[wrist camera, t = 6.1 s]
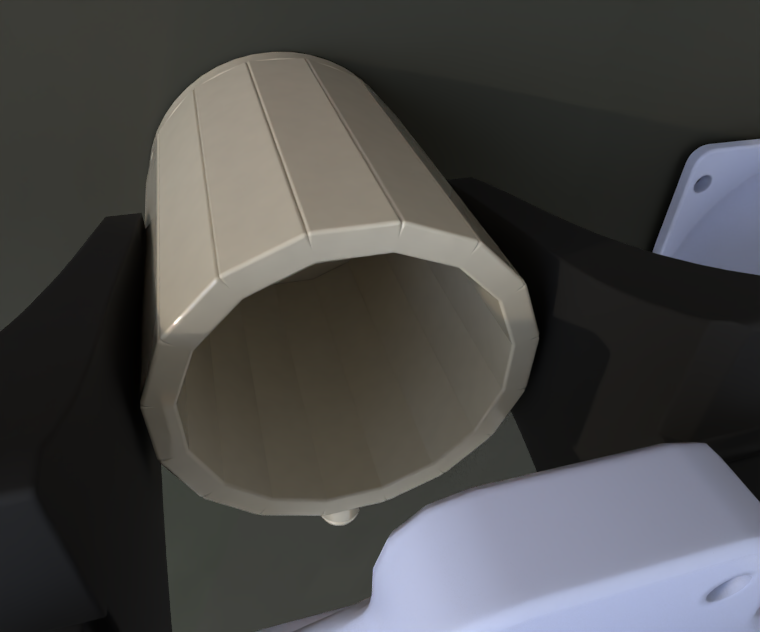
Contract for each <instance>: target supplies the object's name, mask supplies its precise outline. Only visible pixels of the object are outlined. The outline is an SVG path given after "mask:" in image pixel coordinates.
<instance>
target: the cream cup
mask: <svg viewBox="0 0 760 632" xmlns="http://www.w3.org/2000/svg"><path fill="white" fill-rule="evenodd" d="M538 342H539V330H538V326H537V322H536V318H535V314H534V310H533V306H532V303H531V299H530V295H529V291H528V287H527V284H526V283H525V282H524V279H523V278H522V277H521V275H520V274H519V273H518V272H517V270H516V269H515V268H514V266H513V265H512V264H511V263H510V261H509V260H508V259H507V257H506V256H505V255H504V254H503V252H502V251H501V250H500V248H499V247H498V246H497V245H496V243H495V242H494V241H493V239H492V238H491V237H490V236H489V234H488V233H487V232H486V230H485V229H484V228H483V227H482V225H481V224H480V223H479V221H478V220H477V219H476V218H475V216H474V215H473V214H472V212H471V211H470V210H469V209H468V207H467V206H466V205H465V203H464V202H463V201H462V200H461V198H460V197H459V196H458V194H457V193H456V192H455V191H454V189H453V188H452V187H451V185H450V184H449V183H448V182H447V180H446V179H445V178H444V176H443V175H442V174H441V173H440V171H439V170H438V169H437V167H436V166H435V165H434V164H433V162H432V161H431V160H430V158H429V157H428V156H427V155H426V153H425V152H424V151H423V149H422V148H421V147H420V146H419V144H418V143H417V142H416V140H415V139H414V138H413V137H412V135H411V134H410V133H409V131H408V130H407V129H406V128H405V126H404V125H403V124H402V122H401V121H400V120H399V119H398V117H397V116H396V115H395V113H394V112H393V111H392V110H391V109H390V108H389V107H388V106H387V105H386V104H385V103H384V102H383V101H382V100H381V99H380V98H379V96H378V95H377V94H376V93H375V92H374V91H373V90H372V88H371V87H369V86H368V85H367V84H366V83H365V82H364V81H362V80H361V79H360V78H359V77H358V76H356V75H355V74H353V73H351V72H350V71H348V70H347V69H345V68H344V67H341V66H339V65H337V64H335V63H333V62H331V61H328V60H325V59H322V58H319V57H315V56H312V55H307V54H301V53H294V52H268V53H260V54H253V55H249V56H245V57H241V58H238V59H234V60H232V61H230V62H227V63H225V64H223V65H220V66H218V67H216V68H214V69H213V70H211V71H209V72H208V73H206V74H204V75H203V76H201V77H200V78H199V79H197V80H196V81H195V82H194V83H192V84H191V85H190V86H189V87H187V88H186V89H185V91H184V92H183V93H182V94H181V95H180V96H179V97H178V98H177V99H176V100H175V101H174V103H173V104H172V106H171V107H170V109H169V110H168V112H167V113H166V115H165V116H164V118H163V120H162V122H161V124H160V126H159V128H158V130H157V132H156V136H155V139H154V142H153V145H152V149H151V156H150V162H149V172H148V176H147V180H146V207H145V261H144V276H143V311H142V346H141V380H140V409H141V412H142V415H143V418H144V421H145V424H146V427H147V430H148V433H149V437H150V440H151V443H152V446H153V449H154V452H155V455H156V457H157V459H158V460H159V461H160V463H161V464H162V465H163V466H164V467H165V468H167V469H168V470H169V471H170V472H171V473H173V474H174V475H175V476H176V477H177V478H179V479H180V480H181V481H182V482H183V483H185V484H186V485H187V486H188V487H189V488H191V489H192V490H193V491H194V492H195V493H197V494H198V495H199V496H200V497H203V498H204V499H207V500H210V501H214V502H217V503H220V504H224V505H227V506H230V507H233V508H237V509H240V510H243V511H247V512H250V513H253V514H257V515H259V514H261V515H263V516H322V517H323V519H324V520H325V521H326V522H328V523H330V524H332V525H336V526H342V525H346V524H348V523H350V522H352V521H353V520H354V519H355V518H356V516H357V515H358V513H359V511H360V507H364V506H368V505H372V504H377V503H381V502H384V501H385V500H390V499H392V498H394V497H396V496H398V495H400V494H403V493H405V492H407V491H409V490H411V489H413V488H415V487H417V486H420V485H422V484H424V483H426V482H428V481H430V480H432V479H434V478H436V477H439V476H441V475H442V473H445V472H447V471H448V470H450V469H451V468H452V467H453V466H455V465H456V464H457V463H458V462H460V461H461V460H462V459H463V458H465V457H466V456H467V455H469V454H470V453H471V452H472V451H474V450H475V449H476V448H477V447H479V446H480V445H481V444H482V443H484V442H485V441H486V440H488V439H489V438H490V437H491V435H493V434H494V433H495V431H496V430H497V429H498V427H499V426H500V425H501V423H502V422H503V420H504V419H505V418H506V416H507V415H508V413H509V412H510V411H511V409H512V408H513V407H514V405H515V404H516V402H517V401H518V400H519V398H520V397H521V396H522V394H523V393H524V391H525V388H526V387H527V384H528V380H529V376H530V372H531V369H532V365H533V361H534V357H535V353H536V350H537V346H538Z"/></svg>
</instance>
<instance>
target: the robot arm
mask: <svg viewBox="0 0 760 632" xmlns="http://www.w3.org/2000/svg"><path fill="white" fill-rule="evenodd" d="M699 179H700V180H699ZM698 180H699V181H698ZM697 181H698V182H697ZM447 182H448V183H449V184H450V185H451V187H452V188H453V189H454V191H455V192H456V193H457V194H458V196H459V197H460V198H461V200H462V201H463V202H464V203H465V205H466V206H467V207H468V209H469V210H470V211H471V212H472V214H473V215H474V216H475V218H476V219H477V220H478V221H479V223H480V224H481V225H482V227H483V228H484V229H485V230H486V232H487V233H488V234H489V236H490V237H491V238H492V239H493V241H494V242H495V243H496V245H497V246H498V247H499V248H500V250H501V251H502V252H503V254H504V255H505V256H506V257H507V259H508V260H509V261H510V263H511V264H512V265H513V266H514V268H515V269H516V270H517V272H518V273H519V274H520V275H521V277H522V278H523V279H524V282H525V283H526V284H527V287H528V291H529V295H530V299H531V303H532V306H533V310H534V314H535V318H536V322H537V326H538V330H539V342H538V346H537V350H536V353H535V357H534V361H533V365H532V369H531V372H530V376H529V380H528V384H527V387H526V388H525V391H524V393H523V394H522V396H521V397H520V398H519V400H518V401H517V402H516V404H515V405H514V407H513V408H512V409H511V412H512V414H513V416H514V419H515V421H516V423H517V425H518V427H519V430H520V432H521V434H522V436H523V439H524V441H525V444H526V446H527V448H528V451H529V453H530V456H531V458H532V460H533V463H534V465H535V468H536V470H537V472H536V473H532V474H528V475H523V476H519V477H515V478H510V479H506V480H502V481H498V482H493V483H489V484H485V485H480V486H476V487H472V488H469V489H466V490H464V491H461V492H458V493H456V494H453V495H451V496H448V497H446V498H443V499H440V500H438V501H435V502H433V503H430V504H428V505H426V506H424V507H423V508H422V509H421V510H419V511H418V512H417V513H415V514H414V515H413V516H412V517H410V518H409V519H408V520H406V521H405V522H404V523H403V524H401V525H400V526H399V527H397V528H396V529H395V530H394V531H392V533H391V534H390V536H389V538H388V539H387V541H386V543H385V545H384V547H383V549H382V551H381V553H380V555H379V557H378V559H377V561H376V564H375V566H374V568H373V580H372V597H370V598H367V599H365V600H363V601H360V602H358V603H356V604H354V605H351V606H347V607H343V608H339V609H336V610H332V611H328V612H324V613H321V614H317V615H313V616H309V617H306V618H302V619H298V620H295V621H291V622H287V623H283V624H280V625H276V626H272V627H268V628H265V629H261V630H257V631H253V632H760V139H753V140H743V141H733V142H724V143H714V144H707V145H703V146H701V147H699V148H698V149H696V150H695V151H694V152H693V153H692V154H691V155H690V156H689V158H688V159H687V161H686V163H685V166H684V169H683V171H682V174H681V177H680V179H679V182H678V185H677V187H676V190H675V193H674V195H673V198H672V201H671V203H670V206H669V209H668V211H667V214H666V217H665V219H664V222H663V225H662V227H661V230H660V233H659V235H658V238H657V241H656V243H655V246H654V249H653V251H652V252H649V251H646V250H642V249H639V248H636V247H633V246H630V245H627V244H624V243H621V242H618V241H615V240H612V239H609V238H607V237H604V236H601V235H599V234H596V233H594V232H591V231H589V230H586V229H584V228H582V227H579V226H577V225H574V224H572V223H570V222H567V221H565V220H563V219H561V218H559V217H556V216H554V215H552V214H550V213H548V212H546V211H543V210H541V209H539V208H537V207H535V206H533V205H531V204H529V203H527V202H525V201H523V200H521V199H519V198H517V197H515V196H513V195H510V194H508V193H506V192H504V191H502V190H500V189H498V188H496V187H494V186H492V185H489V184H487V183H485V182H482V181H480V180H477V179H474V178H461V179H452V180H447ZM696 182H697V183H696ZM144 261H145V225H144V221H143V217H142V213H137V214H128V215H119V216H110V217H105V218H104V220H103V221H102V222H101V223H100V224H99V226H98V227H97V228H96V229H95V230H94V232H93V233H92V234H91V236H90V237H89V238H88V239H87V241H86V242H85V243H84V245H83V246H82V247H81V248H80V250H79V251H78V252H77V253H76V255H75V256H74V257H73V258H72V259H71V261H70V262H69V263H68V264H67V265H66V267H65V268H64V269H63V270H62V271H61V273H60V274H59V275H58V276H57V277H56V278H55V279H54V280H53V281H52V282H51V284H50V285H49V286H48V287H47V288H46V289H45V290H44V291H43V292H42V293H41V294H40V295H39V296H38V297H37V298H36V299H35V300H34V301H33V302H32V303H31V304H30V305H29V306H28V307H27V308H26V309H25V310H24V311H23V312H22V313H21V314H20V315H19V316H18V317H17V318H16V319H14V320H13V321H12V322H11V323H10V324H9V325H8V326H7V327H5V328H4V329H3V330H2V331H0V632H172V625H171V613H170V600H169V587H168V574H167V560H166V544H165V529H164V513H163V494H162V474H161V463H160V461H159V460H158V459H157V457H156V455H155V452H154V449H153V446H152V443H151V440H150V437H149V433H148V430H147V427H146V424H145V421H144V418H143V415H142V412H141V409H140V380H141V346H142V311H143V276H144Z"/></svg>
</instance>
